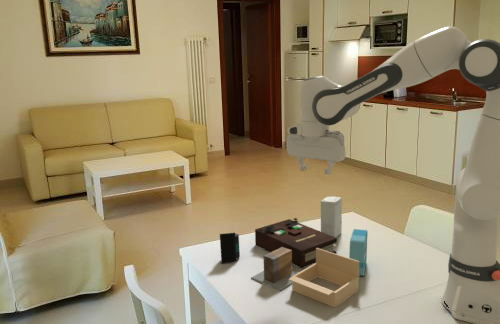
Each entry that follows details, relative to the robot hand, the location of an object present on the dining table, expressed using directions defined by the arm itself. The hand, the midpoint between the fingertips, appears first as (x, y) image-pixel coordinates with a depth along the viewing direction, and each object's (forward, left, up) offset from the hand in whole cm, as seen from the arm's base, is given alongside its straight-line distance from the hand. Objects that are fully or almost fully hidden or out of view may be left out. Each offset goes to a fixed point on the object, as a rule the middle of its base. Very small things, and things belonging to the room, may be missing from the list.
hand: (315, 172), depth 147 cm
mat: (+4, +14, -33) cm, 36 cm away
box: (+4, +14, -32) cm, 35 cm away
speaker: (+26, +14, -33) cm, 44 cm away
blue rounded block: (-12, -8, -33) cm, 36 cm away
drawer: (-12, +12, -33) cm, 37 cm away
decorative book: (+14, -7, -33) cm, 37 cm away
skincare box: (+11, -27, -33) cm, 44 cm away
